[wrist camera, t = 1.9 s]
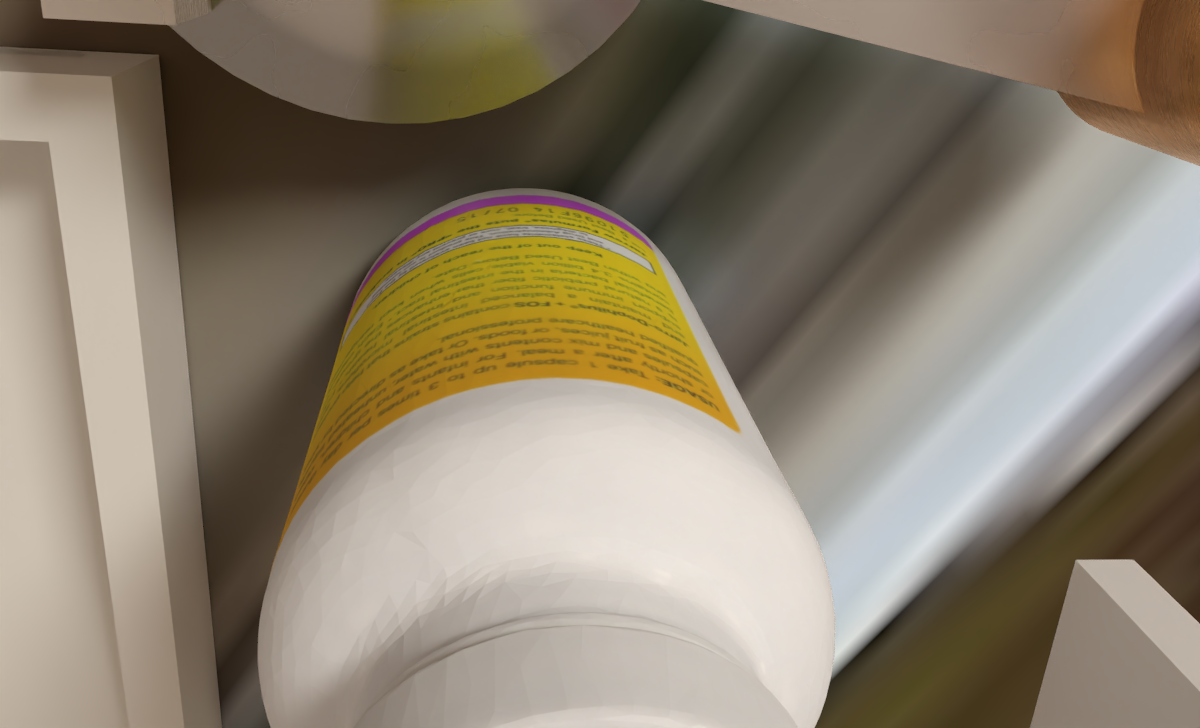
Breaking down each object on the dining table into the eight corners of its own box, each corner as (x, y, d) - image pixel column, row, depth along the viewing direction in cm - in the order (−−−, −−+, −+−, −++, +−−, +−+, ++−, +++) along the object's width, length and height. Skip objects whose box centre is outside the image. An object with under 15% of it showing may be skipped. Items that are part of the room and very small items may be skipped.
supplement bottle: (276, 290, 20) (-25, 858, 8) (587, 111, 19) (762, 443, 7) (466, 548, 22) (451, 1263, 11) (746, 400, 22) (1062, 989, 10)
